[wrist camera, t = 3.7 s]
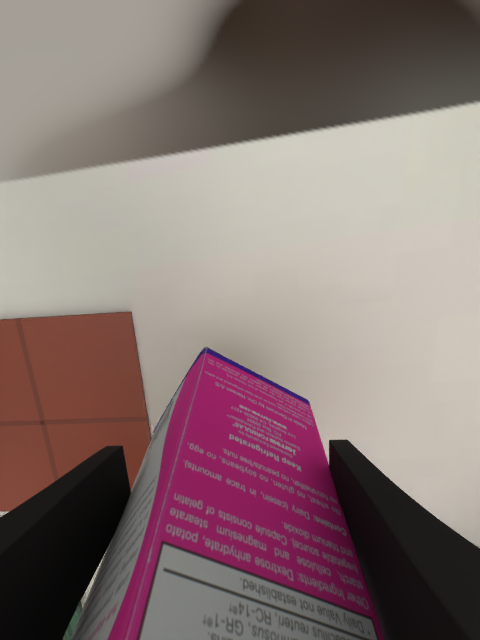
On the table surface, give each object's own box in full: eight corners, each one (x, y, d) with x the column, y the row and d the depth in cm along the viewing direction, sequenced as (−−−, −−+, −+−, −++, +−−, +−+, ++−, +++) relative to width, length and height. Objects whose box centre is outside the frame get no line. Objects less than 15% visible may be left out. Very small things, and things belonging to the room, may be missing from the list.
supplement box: (252, 473, 15) (249, 1096, 5) (153, 427, 14) (-139, 1074, 4) (316, 399, 13) (580, 1218, 2) (205, 341, 12) (-118, 1238, 2)
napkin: (161, 506, 22) (160, 509, 22) (-24, 508, 23) (-28, 512, 23) (131, 311, 19) (129, 312, 19) (-84, 324, 20) (-89, 325, 20)
